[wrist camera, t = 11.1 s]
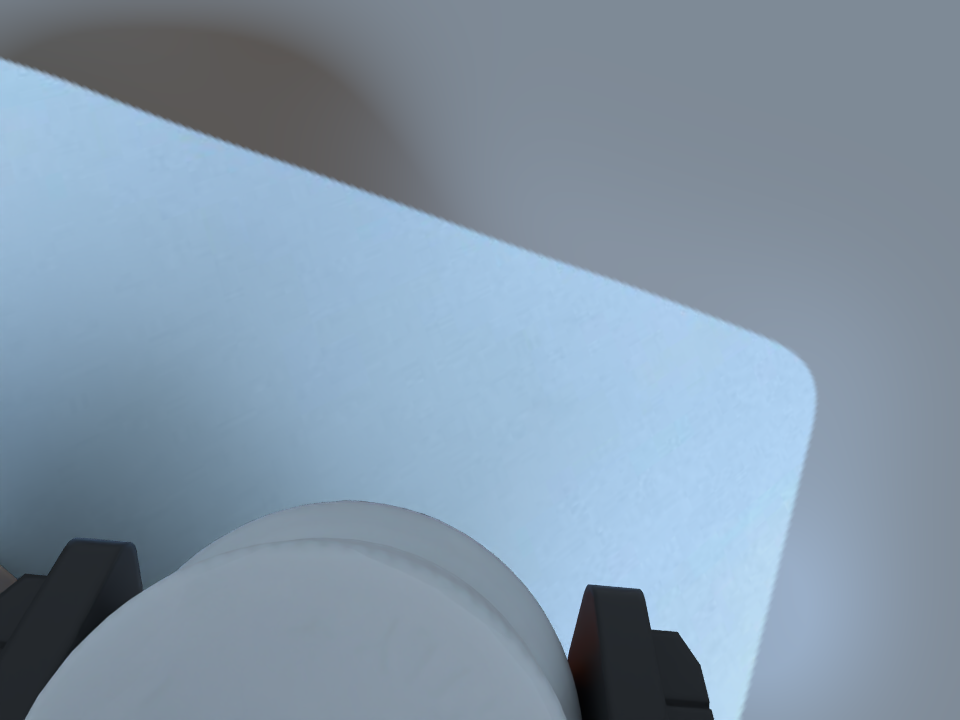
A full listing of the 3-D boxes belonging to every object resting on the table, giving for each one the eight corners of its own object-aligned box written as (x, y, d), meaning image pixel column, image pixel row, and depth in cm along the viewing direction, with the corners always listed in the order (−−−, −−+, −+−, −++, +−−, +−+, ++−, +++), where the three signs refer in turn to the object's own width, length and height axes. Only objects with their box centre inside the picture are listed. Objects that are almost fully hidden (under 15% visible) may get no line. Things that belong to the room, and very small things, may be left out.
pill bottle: (560, 586, 18) (762, 645, 7) (447, 871, 17) (492, 1462, 6) (308, 474, 19) (142, 369, 8) (177, 746, 17) (-258, 1100, 6)
